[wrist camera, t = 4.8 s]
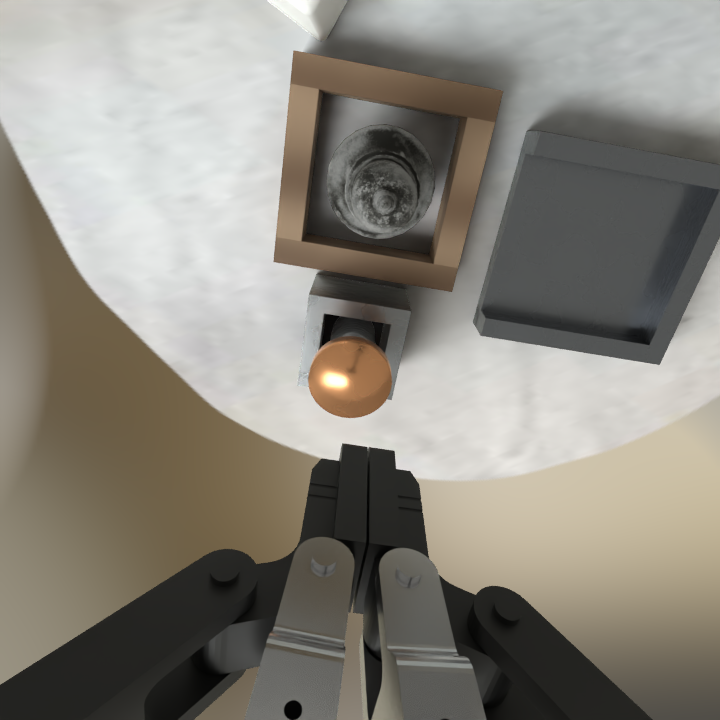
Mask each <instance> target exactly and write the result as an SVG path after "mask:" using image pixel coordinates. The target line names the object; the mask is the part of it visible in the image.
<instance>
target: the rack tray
mask: <svg viewBox="0 0 720 720" xmlns="http://www.w3.org/2000/svg"><path fill="white" fill-rule="evenodd" d="M719 237H720V165H718V164H712V163H707V162H702V161H696V160H691V159H686V158H681V157H675V156H670V155H665V154H659V153H654V152H649V151H644V150H638V149H633V148H628V147H622V146H617V145H612V144H607V143H601V142H596V141H591V140H585V139H580V138H575V137H569V136H564V135H559V134H554V133H548V132H543V131H527V132H526V136H525V139H524V143H523V146H522V150H521V153H520V157H519V160H518V164H517V168H516V171H515V175H514V178H513V182H512V185H511V189H510V192H509V196H508V200H507V203H506V207H505V210H504V214H503V217H502V221H501V224H500V228H499V231H498V235H497V239H496V242H495V246H494V249H493V253H492V256H491V260H490V263H489V267H488V271H487V274H486V278H485V281H484V285H483V288H482V292H481V295H480V299H479V302H478V306H477V310H476V313H475V317H474V320H473V323H474V325H475V326H476V328H477V330H478V332H479V334H480V335H481V336H486V337H492V338H498V339H505V340H511V341H517V342H523V343H529V344H535V345H541V346H547V347H554V348H560V349H566V350H572V351H578V352H584V353H590V354H596V355H602V356H609V357H615V358H621V359H627V360H633V361H639V362H645V363H651V364H658V365H660V363H661V361H662V358H663V356H664V354H665V352H666V350H667V348H668V346H669V344H670V341H671V339H672V337H673V335H674V333H675V331H676V329H677V327H678V324H679V322H680V320H681V318H682V316H683V314H684V312H685V310H686V307H687V305H688V303H689V301H690V299H691V297H692V295H693V293H694V290H695V288H696V286H697V284H698V282H699V280H700V278H701V276H702V273H703V271H704V269H705V267H706V265H707V263H708V261H709V259H710V256H711V254H712V252H713V250H714V248H715V246H716V244H717V242H718V239H719Z"/></svg>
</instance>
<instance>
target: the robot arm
mask: <svg viewBox="0 0 720 720" xmlns="http://www.w3.org/2000/svg"><path fill="white" fill-rule="evenodd" d="M353 598H354V600H353ZM352 603H353V613H360V614H363V631H362V635H361V639H360V645H359V646H360V647H359V650H360V669H361V687H362V706H363V720H652V719H651V718H650V717H649V716H648V715H647V714H646V713H645V712H644V711H643V710H642V709H641V708H640V707H639V706H637V705H636V704H635V703H634V702H633V701H632V700H631V699H630V698H629V697H628V696H627V695H626V694H625V693H624V692H622V690H620V689H619V688H618V687H617V686H616V685H615V684H614V683H613V682H612V681H611V680H610V679H609V678H608V677H607V676H606V675H604V674H603V673H602V672H601V671H600V670H599V669H598V668H597V667H596V666H595V665H594V664H593V663H592V662H591V661H590V660H589V659H587V658H586V657H585V656H584V655H583V654H582V653H581V652H580V651H579V650H578V649H577V648H576V647H575V646H574V645H573V644H571V643H570V642H569V641H568V640H567V639H566V638H565V637H564V636H563V635H562V634H561V633H560V632H559V631H557V629H555V628H554V627H553V626H552V625H551V624H550V623H549V622H548V621H547V620H546V619H545V618H544V617H543V616H542V615H541V614H540V613H538V612H537V611H536V610H535V609H534V608H533V607H532V606H531V605H530V604H529V603H528V602H527V601H526V600H525V599H524V598H522V597H521V596H520V595H518V594H517V593H515V592H513V591H512V590H510V589H507V588H504V587H499V586H489V587H485V588H483V589H481V590H480V591H479V592H478V593H477V594H476V595H474V594H472V593H469V592H467V591H465V590H463V589H460V588H458V587H456V586H454V585H452V584H450V583H448V582H447V581H445V580H444V579H443V578H442V577H441V576H440V575H439V574H438V571H437V569H436V567H435V565H434V564H433V563H432V561H431V560H430V559H429V556H428V549H427V541H426V534H425V526H424V518H423V513H422V503H421V495H420V488H419V484H418V482H417V481H416V479H415V478H414V476H413V475H412V473H411V472H410V471H405V470H398V469H396V465H395V452H394V451H391V450H385V449H378V448H371V447H369V448H368V449H367V447H363V446H357V445H350V444H343V443H342V447H341V453H340V458H339V461H335V460H328V459H321V460H320V461H319V462H318V463H317V464H316V466H315V467H314V468H313V469H312V474H311V479H310V485H309V491H308V497H307V503H306V508H305V514H304V520H303V526H302V532H301V537H300V541H299V543H298V545H297V547H296V548H295V550H294V551H293V552H292V553H290V554H289V555H288V556H286V557H284V558H282V559H280V560H277V561H274V562H268V563H261V564H256V563H255V562H254V560H253V559H252V558H251V557H249V556H248V555H247V554H245V553H243V552H241V551H238V550H233V549H223V550H217V551H214V552H211V553H209V554H207V555H205V556H203V557H202V558H200V559H199V560H197V561H195V562H194V563H193V564H191V565H189V566H188V567H186V568H185V569H183V570H181V571H180V572H178V573H177V574H175V575H174V576H172V577H170V578H169V579H167V580H166V581H164V582H162V583H161V584H159V585H158V586H156V587H154V588H153V589H151V590H150V591H148V592H146V593H145V594H143V595H142V596H140V597H139V598H137V599H135V600H134V601H132V602H131V603H129V604H128V605H126V606H124V607H123V608H121V609H120V610H118V611H116V612H115V613H113V614H112V615H110V616H108V617H107V618H105V619H104V620H103V621H101V622H99V623H97V624H96V625H94V626H93V627H91V628H90V629H88V630H86V631H85V632H83V633H82V634H80V635H78V636H77V637H75V638H74V639H72V640H70V641H69V642H67V643H66V644H64V645H63V646H61V647H59V648H58V649H56V650H55V651H53V652H52V653H50V654H48V655H47V656H45V657H44V658H42V659H41V660H39V661H37V662H36V663H34V664H32V665H31V666H29V667H28V668H26V669H25V670H23V671H21V672H20V673H18V674H17V675H15V676H13V677H12V678H10V679H9V680H7V681H6V682H4V683H2V684H1V685H0V720H194V719H195V718H196V717H197V716H198V715H199V714H201V713H202V712H203V711H204V710H205V709H206V708H207V707H208V706H209V705H210V704H212V703H213V702H214V701H215V700H216V699H217V698H218V697H219V696H221V695H222V694H223V693H224V692H225V691H226V690H227V689H228V688H229V687H231V686H232V685H233V684H234V683H235V682H236V681H237V680H238V679H239V678H240V677H241V676H242V675H243V674H244V672H245V671H246V669H249V668H253V667H258V666H260V667H259V670H258V674H257V677H256V681H255V684H254V688H253V691H252V695H251V699H250V702H249V706H248V709H247V713H246V716H245V720H337V712H338V705H339V696H340V689H341V681H342V673H343V666H344V657H345V646H344V643H345V634H346V627H347V619H348V612H350V611H351V607H352Z"/></svg>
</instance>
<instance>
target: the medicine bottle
mask: <svg viewBox="0 0 720 720" xmlns="http://www.w3.org/2000/svg"><path fill="white" fill-rule="evenodd" d="M267 1H268V2H270V3H271V4H272V5H273V6H275V7H276V8H277V9H279V10H280V11H281V12H282V13H284V14H285V15H286V16H288V17H289V18H290V19H291V20H293V21H294V22H295V23H296V24H298V25H299V26H300V27H302V28H303V29H304V30H305V31H307V32H308V33H309V34H311V35H312V36H313V37H314V38H316V39H317V40H319V41H325V40H326V39H327V37H328V36H329V34H330V32H331V30H332V28H333V27H334V25H335V23H336V21H337V19H338V17H339V16H340V14H341V12H342V10H343V8H344V7H345V5H346V3H347V1H348V0H267Z"/></svg>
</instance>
